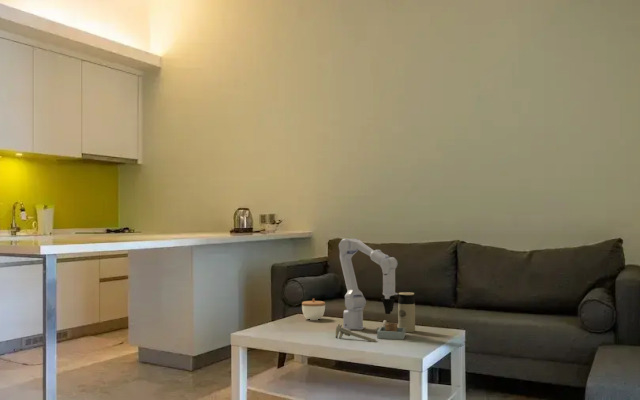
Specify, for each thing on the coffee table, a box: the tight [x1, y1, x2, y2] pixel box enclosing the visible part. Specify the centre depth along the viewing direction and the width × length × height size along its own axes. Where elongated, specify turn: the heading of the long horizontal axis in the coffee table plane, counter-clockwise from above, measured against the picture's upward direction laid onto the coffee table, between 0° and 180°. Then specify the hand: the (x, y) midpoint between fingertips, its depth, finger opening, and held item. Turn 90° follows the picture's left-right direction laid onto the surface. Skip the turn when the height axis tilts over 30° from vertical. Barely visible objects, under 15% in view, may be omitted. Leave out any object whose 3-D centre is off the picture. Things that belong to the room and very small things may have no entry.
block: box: [385, 322, 398, 332], centre depth 254 cm, size 5×5×5 cm
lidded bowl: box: [301, 298, 326, 321], centre depth 302 cm, size 13×13×11 cm
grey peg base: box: [375, 319, 388, 333], centre depth 267 cm, size 8×8×5 cm
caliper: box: [335, 324, 379, 343], centre depth 247 cm, size 20×1×6 cm, turn 60°
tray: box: [376, 326, 407, 340], centre depth 254 cm, size 12×12×3 cm
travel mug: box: [397, 291, 416, 333], centre depth 268 cm, size 8×8×18 cm
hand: (389, 312), depth 261 cm, fingers open, 7 cm apart
